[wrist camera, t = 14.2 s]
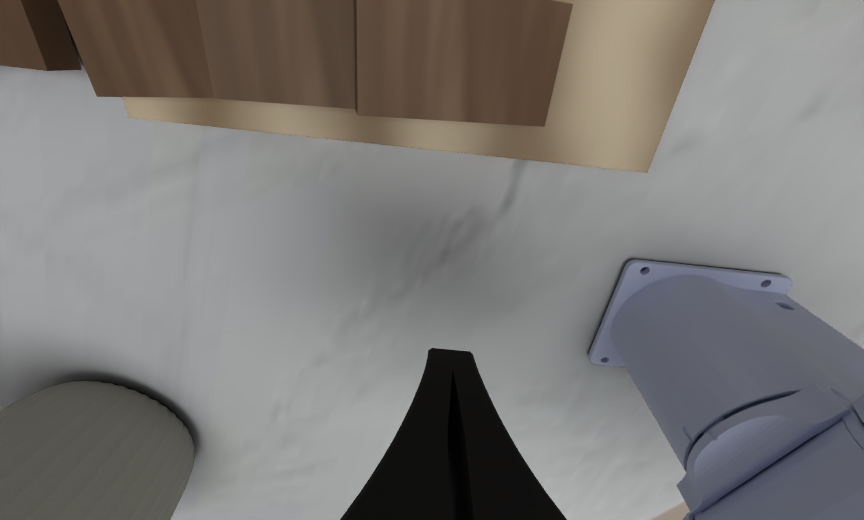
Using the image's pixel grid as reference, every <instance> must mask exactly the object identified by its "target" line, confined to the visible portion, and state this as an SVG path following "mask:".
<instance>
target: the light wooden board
mask: <svg viewBox="0 0 864 520" xmlns="http://www.w3.org/2000/svg"><path fill="white" fill-rule="evenodd" d="M552 1H559V2H565V3H571V4H573V7H572V12H571V16H570V20H569V24H568V29H567V33H566V37H565V42H564V46H563V50H562V54H561V59H560V63H559V67H558V72H557V76H556V80H555V84H554V89H553V93H552V97H551V102H550V106H549V110H548V114H547V119H546V123H545V127H539V126H522V125H506V124H489V123H473V122H456V121H440V120H423V119H406V118H390V117H373V116H358V115H357V113H356V110H355V109H346V108H333V107H319V106H306V105H292V104H279V103H265V102H252V101H238V100H225V99H214V98H170V97H123V100H124V104H125V107H126V110H127V114H128V117H129V118H137V119H147V120H156V121H166V122H175V123H184V124H194V125H203V126H213V127H222V128H232V129H241V130H251V131H260V132H269V133H279V134H288V135H298V136H307V137H317V138H326V139H335V140H345V141H354V142H364V143H373V144H383V145H392V146H401V147H411V148H420V149H430V150H439V151H449V152H458V153H468V154H477V155H486V156H496V157H505V158H515V159H524V160H534V161H543V162H552V163H562V164H571V165H581V166H590V167H600V168H609V169H618V170H628V171H637V172H648V170H649V167H650V165H651V162H652V160H653V157H654V154H655V152H656V149H657V147H658V144H659V142H660V139H661V137H662V134H663V131H664V129H665V126H666V124H667V121H668V119H669V116H670V114H671V111H672V109H673V106H674V103H675V101H676V98H677V96H678V93H679V91H680V88H681V86H682V83H683V80H684V78H685V75H686V73H687V70H688V68H689V65H690V63H691V60H692V57H693V55H694V52H695V50H696V47H697V45H698V42H699V40H700V37H701V34H702V32H703V29H704V27H705V24H706V22H707V19H708V17H709V14H710V12H711V9H712V6H713V4H714V1H715V0H552Z"/></svg>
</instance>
